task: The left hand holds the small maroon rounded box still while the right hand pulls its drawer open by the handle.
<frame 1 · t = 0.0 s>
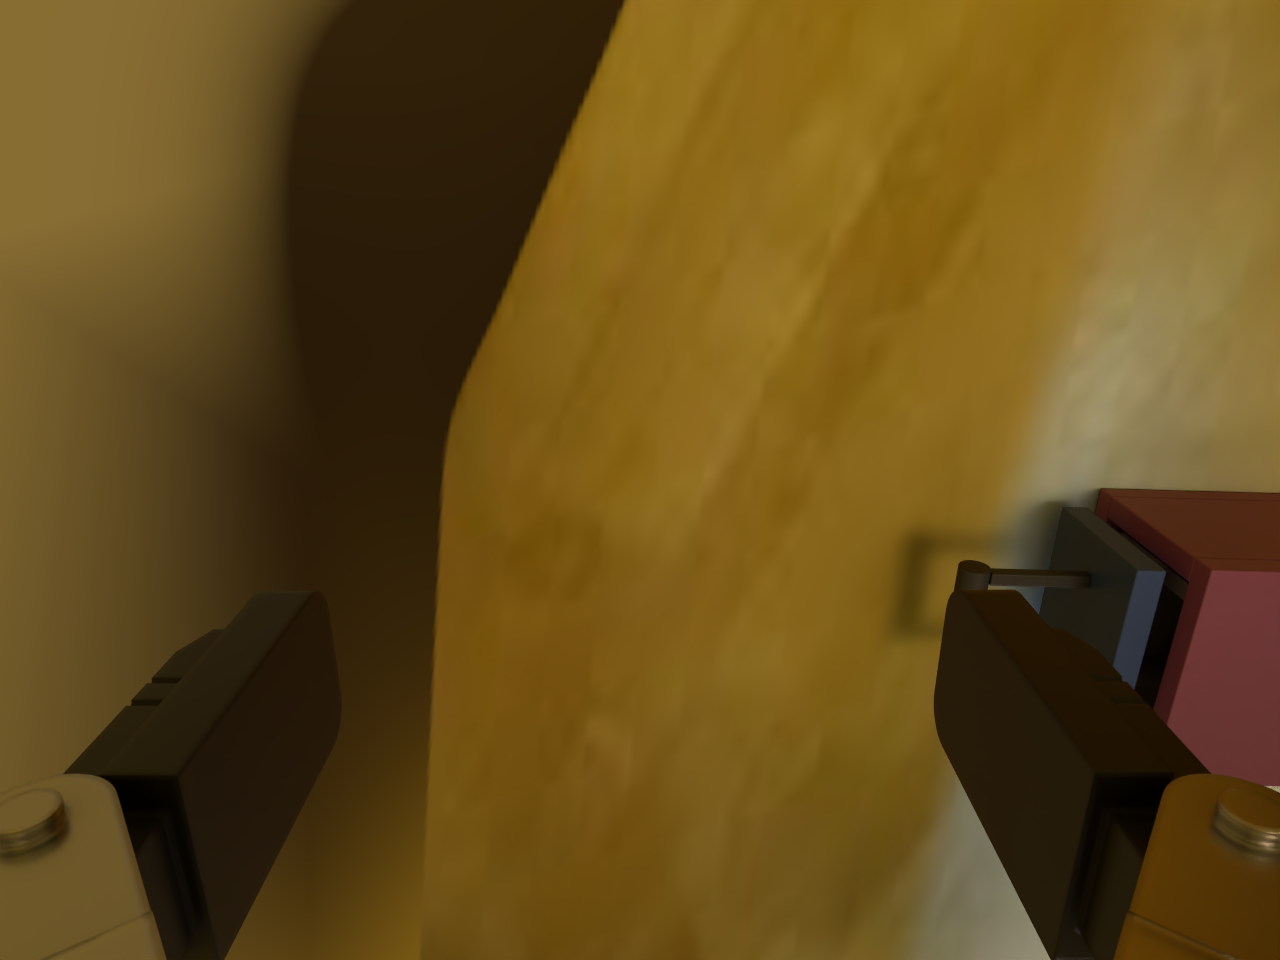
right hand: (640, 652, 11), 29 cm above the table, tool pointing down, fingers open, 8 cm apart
drawer: (1166, 628, 40), point 4 cm above the table, slide at 1.0 cm
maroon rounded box: (1231, 586, 44), on the table
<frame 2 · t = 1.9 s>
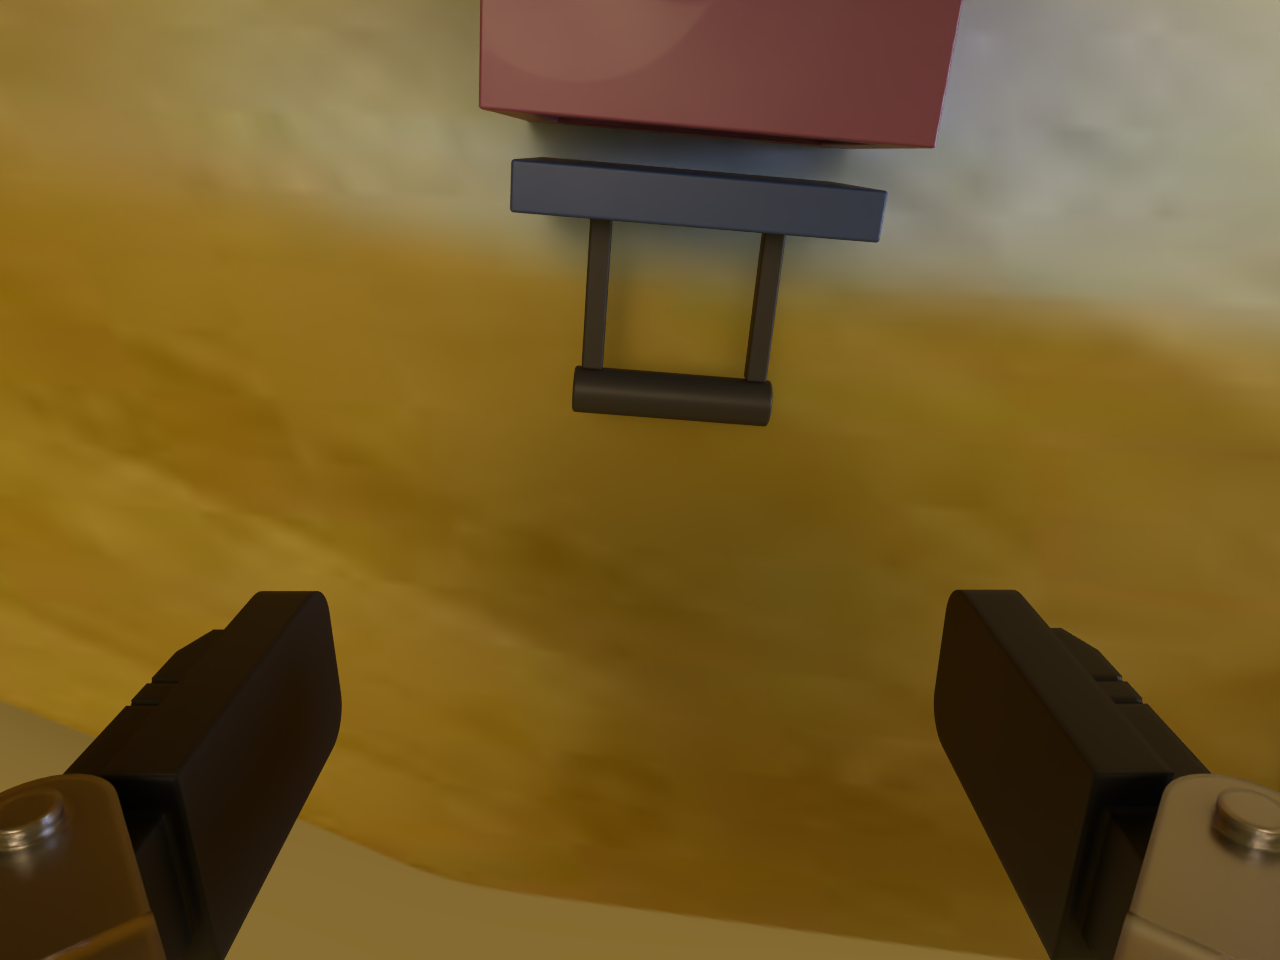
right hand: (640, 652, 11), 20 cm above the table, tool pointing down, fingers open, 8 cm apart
drawer: (704, 51, 23), point 4 cm above the table, slide at 1.0 cm
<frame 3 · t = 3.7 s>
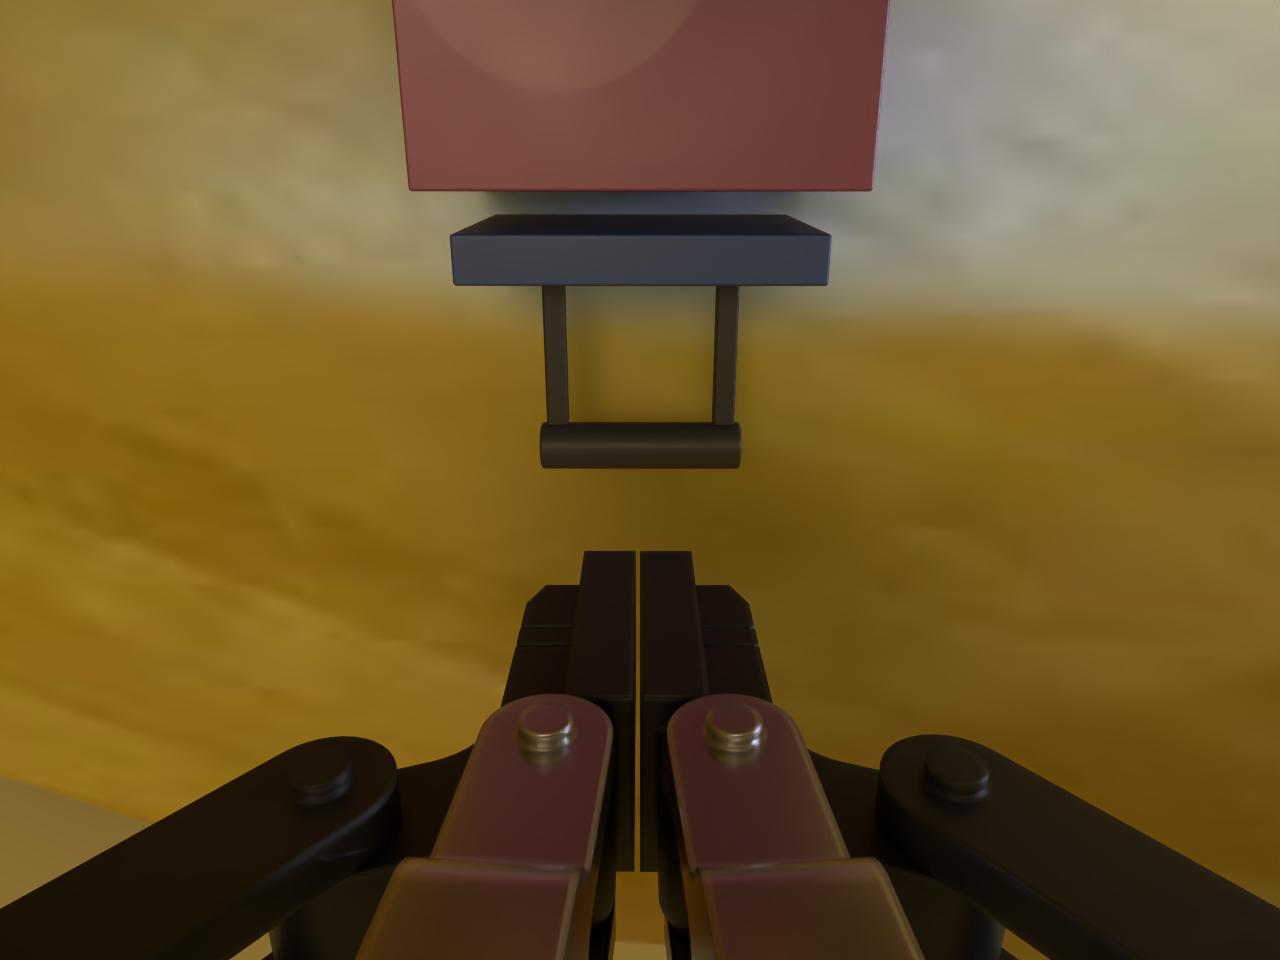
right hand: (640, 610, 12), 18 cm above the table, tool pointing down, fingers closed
drawer: (640, 103, 22), point 4 cm above the table, slide at 1.0 cm
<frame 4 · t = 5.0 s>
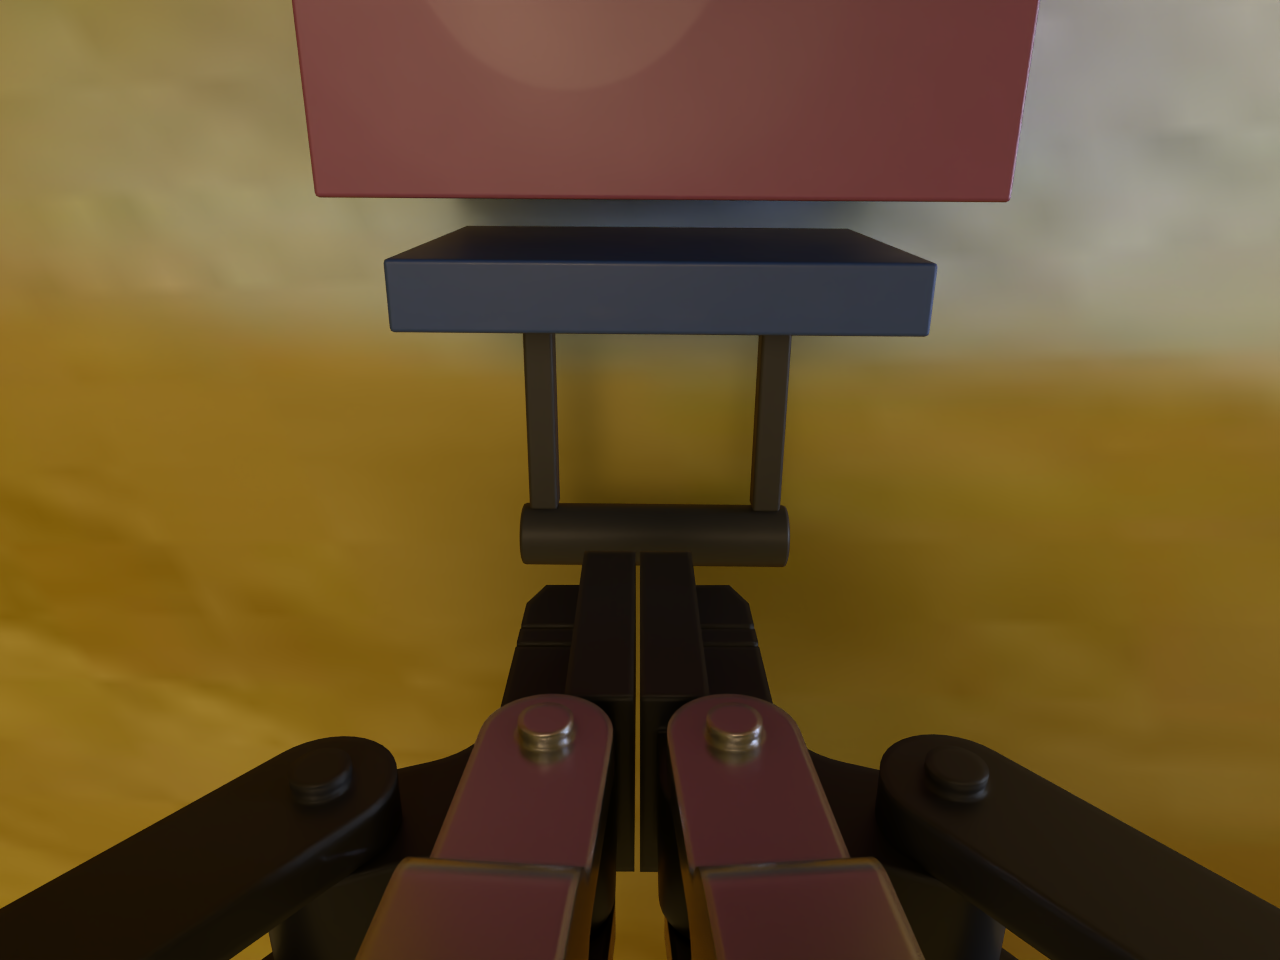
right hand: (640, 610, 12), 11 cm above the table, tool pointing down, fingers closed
drawer: (660, 76, 16), point 4 cm above the table, slide at 1.0 cm
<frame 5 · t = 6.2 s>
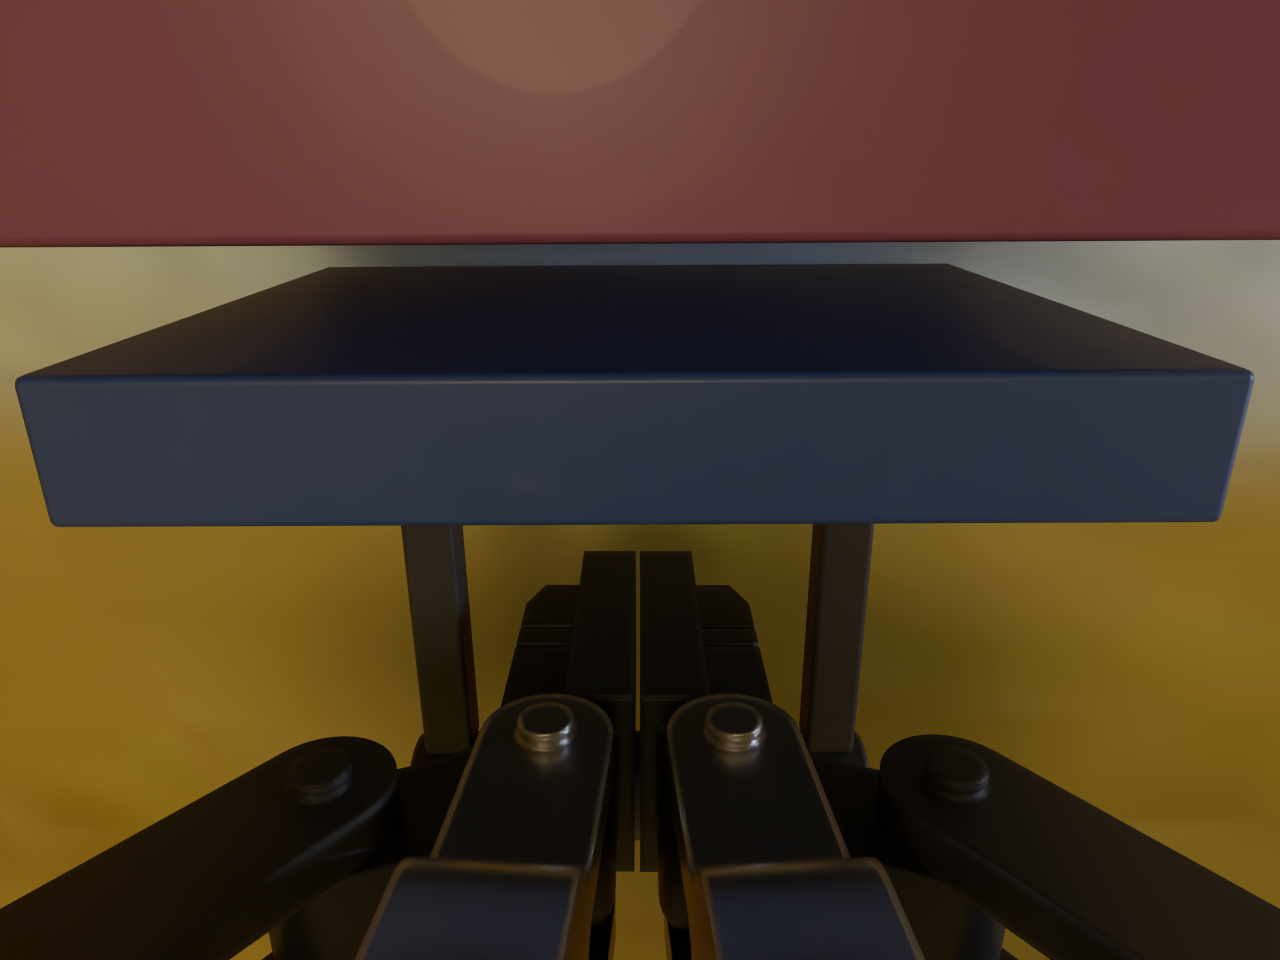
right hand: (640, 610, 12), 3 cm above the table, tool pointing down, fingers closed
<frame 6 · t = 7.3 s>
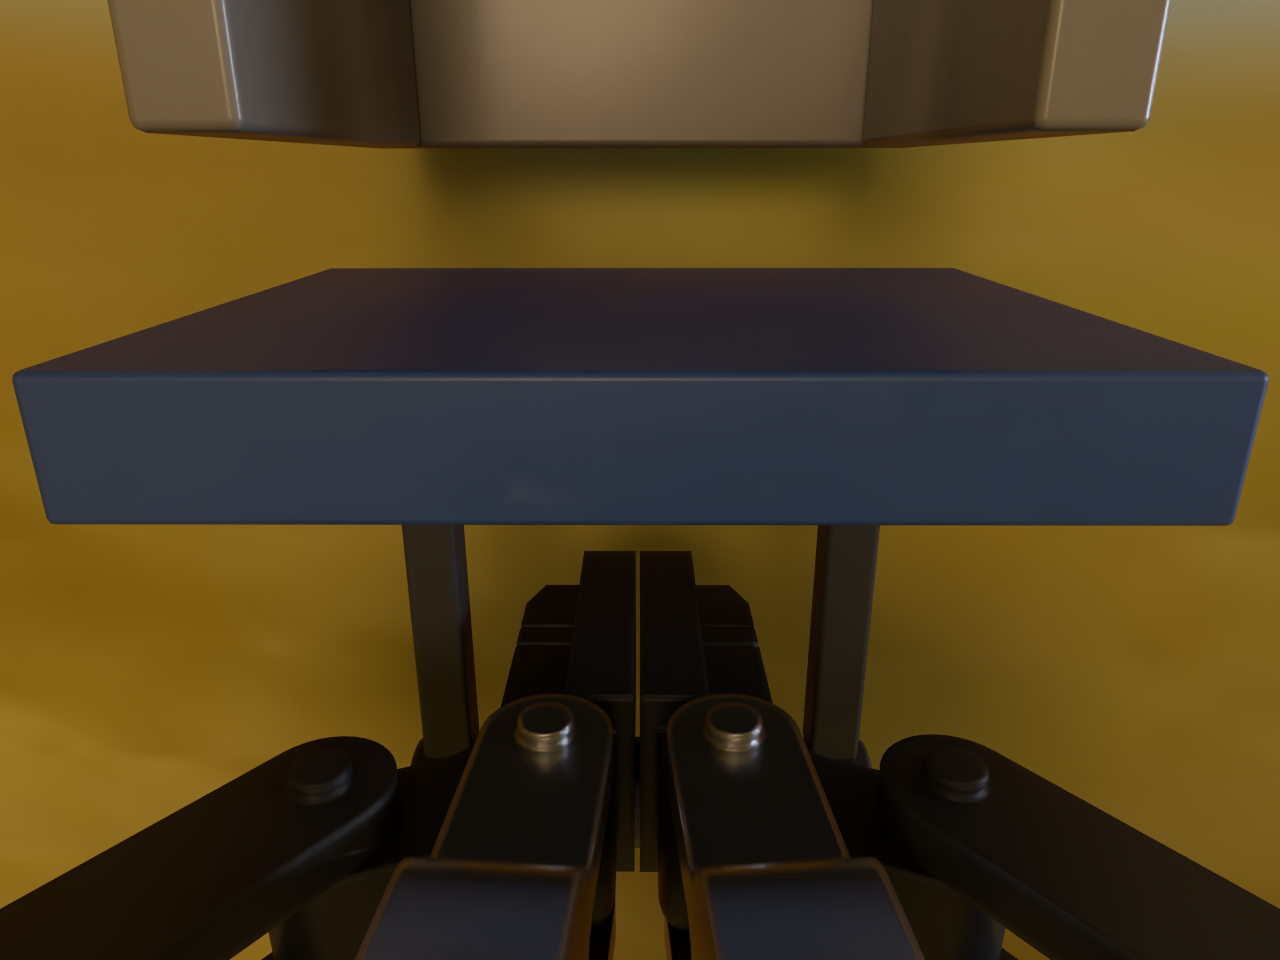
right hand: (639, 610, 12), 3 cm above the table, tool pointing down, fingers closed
when the left hand's fingers open (4 cm above the table, at t = 8.8 s): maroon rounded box stays where it is, on the table.
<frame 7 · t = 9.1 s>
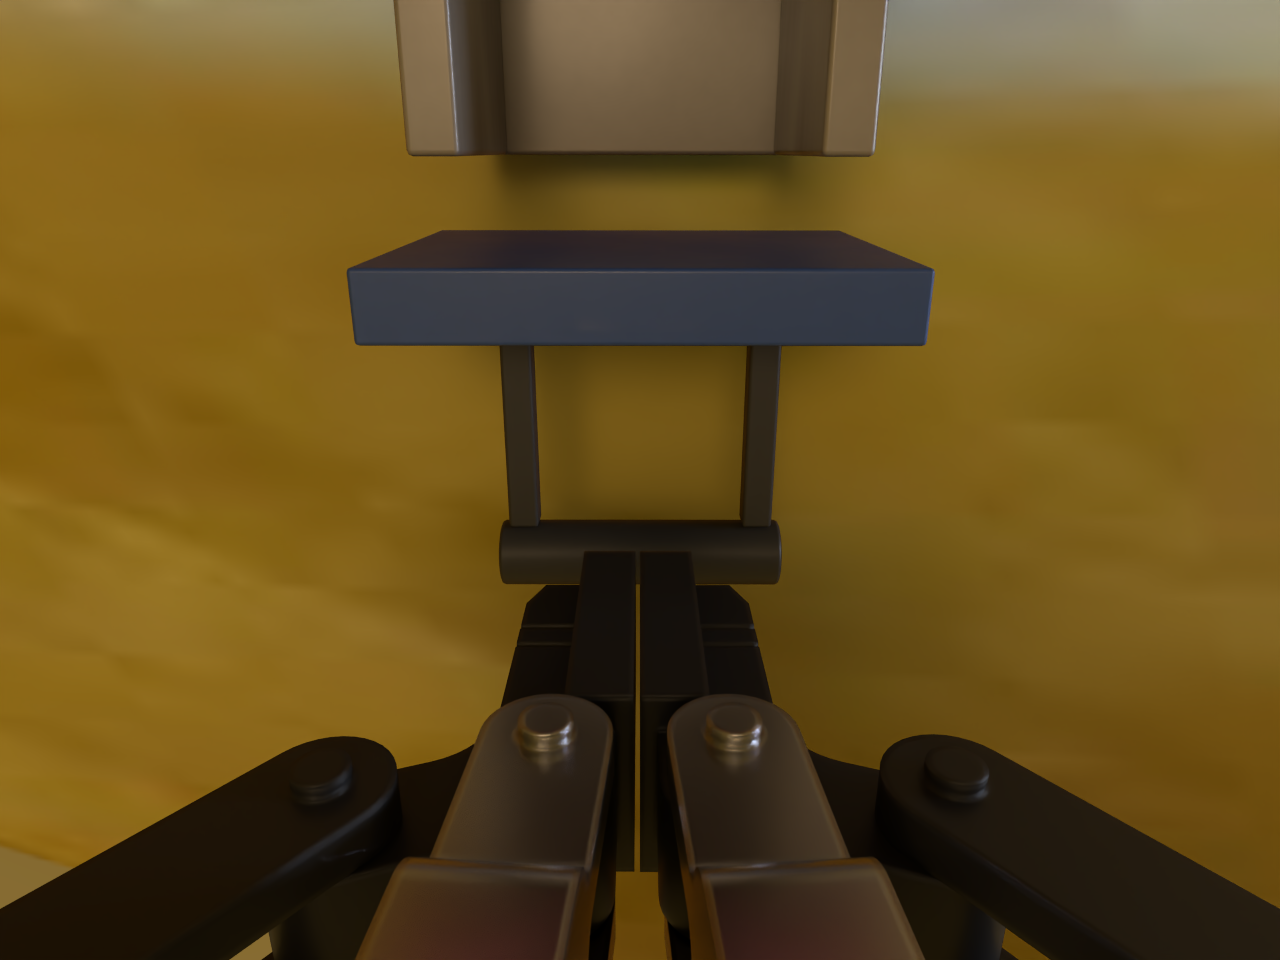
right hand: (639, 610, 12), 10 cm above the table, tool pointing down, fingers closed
drawer: (640, 72, 15), point 4 cm above the table, slide at 7.1 cm
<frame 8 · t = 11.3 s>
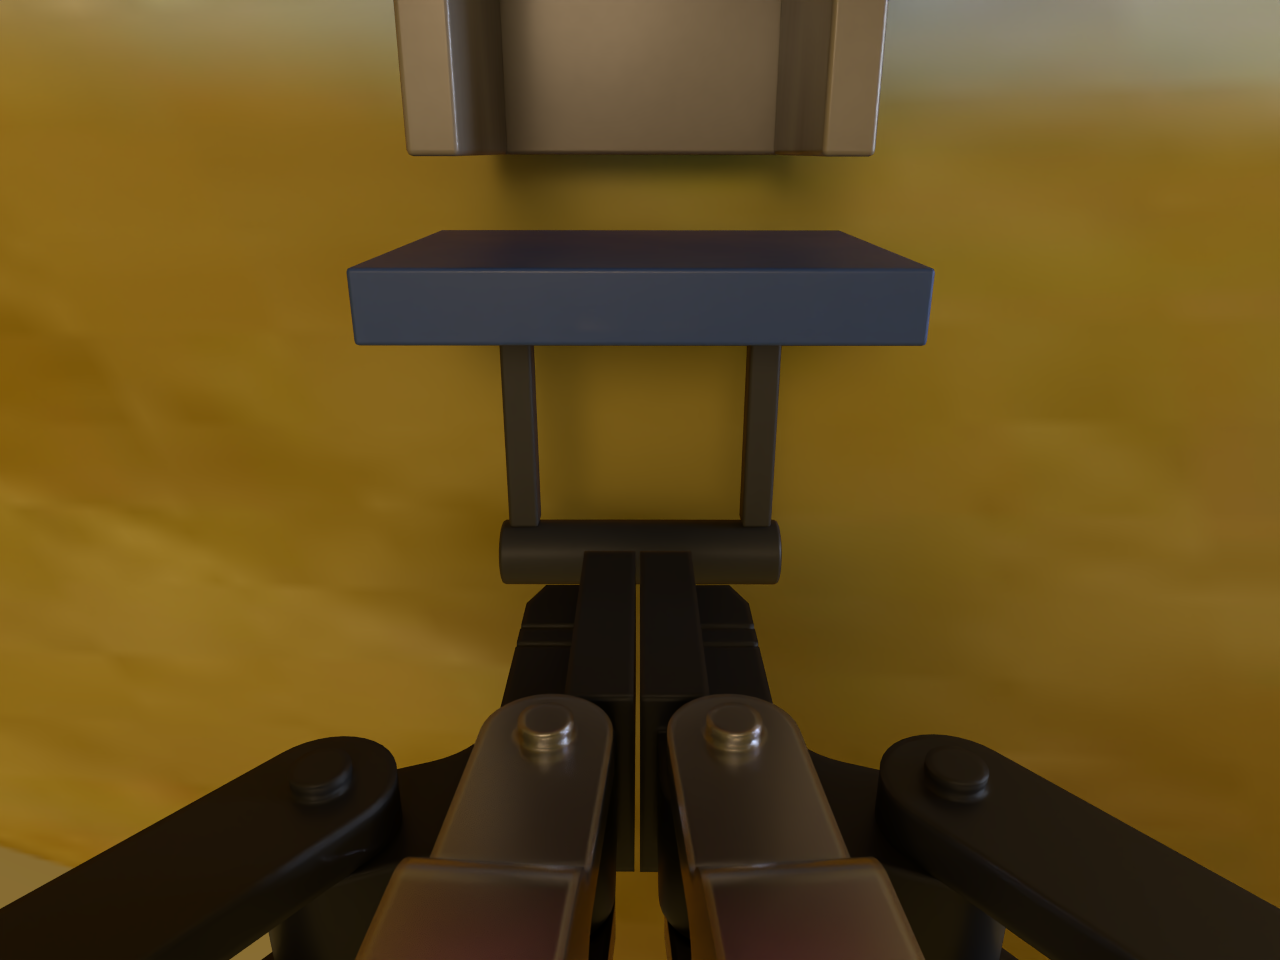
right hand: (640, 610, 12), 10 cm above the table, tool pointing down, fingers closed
drawer: (640, 72, 15), point 4 cm above the table, slide at 7.1 cm
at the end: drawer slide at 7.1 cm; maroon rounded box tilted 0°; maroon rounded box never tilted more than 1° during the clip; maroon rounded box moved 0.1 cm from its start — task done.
